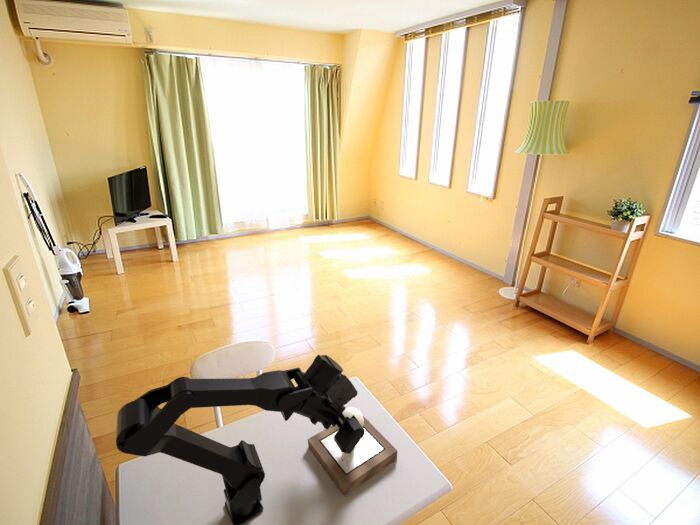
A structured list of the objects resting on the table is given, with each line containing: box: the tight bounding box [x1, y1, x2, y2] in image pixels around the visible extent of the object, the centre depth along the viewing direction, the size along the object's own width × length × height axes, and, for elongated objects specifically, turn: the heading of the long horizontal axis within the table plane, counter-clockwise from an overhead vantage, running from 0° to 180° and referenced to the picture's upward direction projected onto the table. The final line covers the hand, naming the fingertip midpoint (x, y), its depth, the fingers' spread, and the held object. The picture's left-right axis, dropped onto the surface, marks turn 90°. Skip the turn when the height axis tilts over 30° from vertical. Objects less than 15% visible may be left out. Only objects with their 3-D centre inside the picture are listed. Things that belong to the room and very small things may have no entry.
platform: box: [321, 429, 383, 475], centre depth 91 cm, size 11×11×2 cm
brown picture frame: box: [307, 415, 398, 497], centre depth 91 cm, size 16×16×3 cm
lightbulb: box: [343, 406, 364, 427], centre depth 89 cm, size 6×6×11 cm
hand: (355, 422), depth 89 cm, fingers closed on lightbulb, 6 cm apart
